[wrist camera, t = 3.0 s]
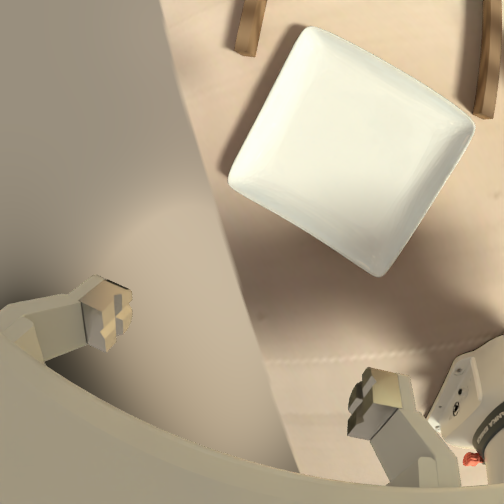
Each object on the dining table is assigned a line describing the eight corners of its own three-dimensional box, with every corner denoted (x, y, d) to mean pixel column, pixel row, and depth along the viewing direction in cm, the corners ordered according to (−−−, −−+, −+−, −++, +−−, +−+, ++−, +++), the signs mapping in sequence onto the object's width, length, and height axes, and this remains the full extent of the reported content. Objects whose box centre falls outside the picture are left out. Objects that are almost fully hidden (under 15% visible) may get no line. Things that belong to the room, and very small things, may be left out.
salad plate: (309, 30, 29) (304, 20, 26) (470, 124, 27) (480, 124, 24) (232, 180, 39) (221, 185, 36) (379, 270, 37) (381, 282, 34)
